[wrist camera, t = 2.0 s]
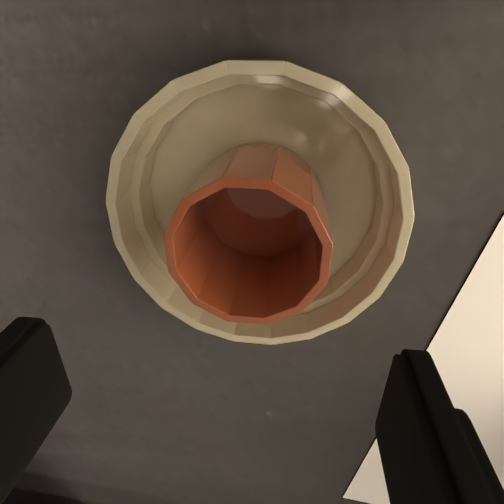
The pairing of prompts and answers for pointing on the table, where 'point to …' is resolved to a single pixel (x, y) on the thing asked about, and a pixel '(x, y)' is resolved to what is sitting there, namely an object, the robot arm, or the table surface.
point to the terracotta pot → (251, 236)
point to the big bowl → (277, 132)
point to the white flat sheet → (463, 367)
